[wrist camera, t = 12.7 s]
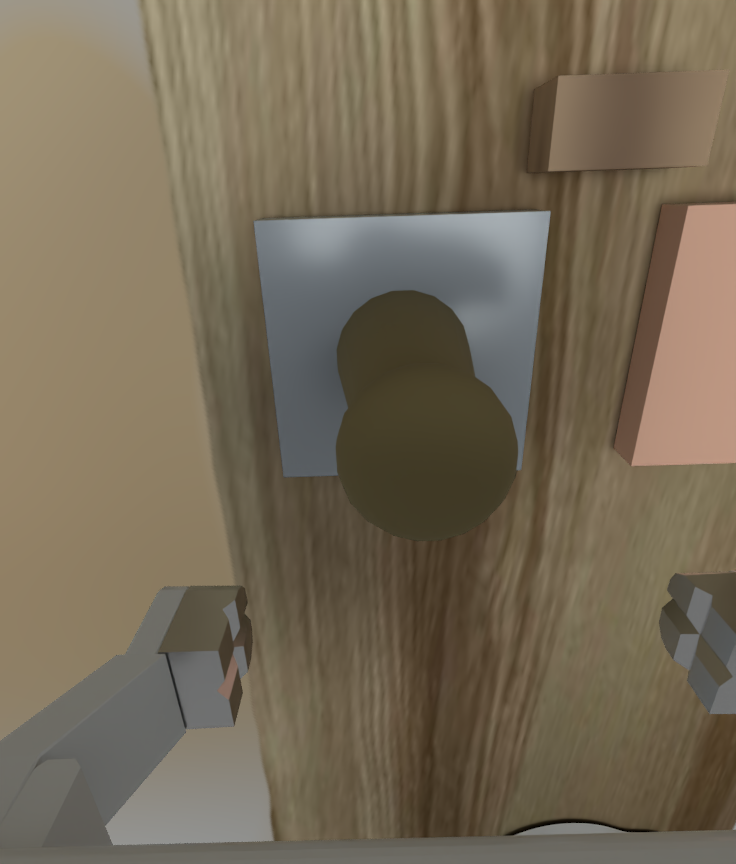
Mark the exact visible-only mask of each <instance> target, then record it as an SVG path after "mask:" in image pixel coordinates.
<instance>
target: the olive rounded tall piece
mask: <svg viewBox="0 0 736 864" xmlns="http://www.w3.org/2000/svg"><path fill="white" fill-rule="evenodd" d="M337 366H338V373H339V376H340V380H341V384H342V387H343V391H344V394H345V398H346V402H347V405H348V409H347V410H346V412H345V413H344V416H343V419H342V422H341V426H340V429H339V433H338V436H337V441H336V461H337V473H338V475H339V478H340V480H341V483H342V485H343V487H344V489H345V492H346V494H347V496H348V498H349V501H350V503H351V504H352V505H353V506H354V507H355V508H356V509H357V510H358V512H359V513H360V514H361V515H362V516H363V517H364V518H365V519H366V520H367V521H368V522H370V523H372V524H374V525H376V526H377V527H379V528H381V529H383V530H385V531H386V532H388V533H390V534H392V535H394V536H397V537H402V538H406V539H410V540H414V541H437V540H444V539H447V538H451V537H454V536H458V535H461V534H464V533H466V532H468V531H469V530H471V529H473V528H474V527H476V526H478V525H479V524H481V523H483V522H484V521H485V520H486V519H487V518H488V517H489V516H490V515H491V514H492V513H493V512H494V511H495V510H496V509H497V508H498V506H499V505H500V504H501V503H502V502H503V500H504V499H505V497H506V495H507V493H508V491H509V489H510V487H511V485H512V483H513V481H514V479H515V476H516V469H517V460H518V441H517V437H516V433H515V429H514V425H513V421H512V417H511V416H510V414H509V413H508V411H507V410H506V408H505V407H504V406H503V404H502V403H501V401H500V400H499V399H498V397H497V396H496V394H495V393H494V392H493V390H492V389H491V387H489V386H488V385H486V384H485V383H483V382H482V381H480V380H479V379H477V378H476V377H475V372H474V367H473V362H472V357H471V352H470V347H469V343H468V339H467V336H466V332H465V329H464V326H463V324H462V323H461V321H460V320H459V318H458V317H457V315H456V314H455V313H454V311H453V310H452V309H451V308H450V307H449V306H447V305H446V304H444V303H443V302H442V301H440V300H439V299H438V298H436V297H435V296H432V295H428V294H425V293H422V292H418V291H415V290H403V291H390V292H387V293H385V294H382V295H379V296H376V297H374V298H371V299H370V300H368V301H367V302H366V303H365V304H363V305H362V306H361V307H359V308H358V309H357V310H356V311H354V312H353V314H352V315H351V317H350V318H349V320H348V321H347V323H346V324H345V326H344V327H343V329H342V331H341V335H340V339H339V342H338V346H337Z"/></svg>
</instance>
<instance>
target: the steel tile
mask: <svg viewBox="0 0 736 864" xmlns="http://www.w3.org/2000/svg"><path fill="white" fill-rule="evenodd" d="M550 212H551V211H545V210H537V209H531V210H501V211H470V212H440V213H410V214H379V215H349V216H319V217H288V218H262V219H258V220H255V221H254V229H255V237H256V246H257V254H258V263H259V271H260V280H261V289H262V297H263V306H264V314H265V323H266V331H267V340H268V348H269V357H270V365H271V374H272V383H273V391H274V400H275V408H276V417H277V425H278V434H279V442H280V451H281V459H282V468H283V476H284V477H309V476H339V475H338V473H337V461H336V441H337V436H338V433H339V429H340V426H341V422H342V419H343V416H344V413H345V412H346V410H347V409H348V405H347V402H346V398H345V394H344V391H343V387H342V384H341V380H340V376H339V373H338V366H337V346H338V342H339V339H340V335H341V331H342V329H343V327H344V326H345V324H346V323H347V321H348V320H349V318H350V317H351V315H352V314H353V312H354V311H356V310H357V309H358V308H359V307H361V306H362V305H363V304H365V303H366V302H367V301H368V300H370V299H371V298H374V297H376V296H379V295H382V294H385V293H387V292H390V291H403V290H415V291H418V292H422V293H425V294H428V295H432V296H435V297H436V298H438V299H439V300H440V301H442V302H443V303H444V304H446V305H447V306H449V307H450V308H451V309H452V310H453V311H454V313H455V314H456V315H457V317H458V318H459V320H460V321H461V323H462V324H463V326H464V329H465V332H466V336H467V339H468V343H469V347H470V352H471V357H472V362H473V367H474V372H475V377H476V378H477V379H479V380H480V381H482V382H483V383H485V384H486V385H488V386H489V387H491V389H492V390H493V392H494V393H495V394H496V396H497V397H498V399H499V400H500V401H501V403H502V404H503V406H504V407H505V408H506V410H507V411H508V413H509V414H510V416H511V417H512V421H513V425H514V429H515V433H516V437H517V441H518V460H517V469H516V470H521V467H522V458H523V449H524V440H525V432H526V423H527V414H528V405H529V397H530V388H531V379H532V370H533V361H534V353H535V344H536V335H537V326H538V318H539V309H540V300H541V291H542V282H543V274H544V265H545V256H546V247H547V239H548V230H549V221H550Z"/></svg>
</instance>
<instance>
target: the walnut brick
mask: <svg viewBox="0 0 736 864" xmlns="http://www.w3.org/2000/svg"><path fill="white" fill-rule="evenodd" d="M728 74H729V70H706V71H678V72H650V73H622V74H594V75H566V76H557V77H555V78H554V79H552V80H550V81H548V82H547V83H545V84H543V85H541V86H540V87H538V88H536V89H534V100H533V111H532V121H531V132H530V143H529V154H528V165H527V173H542V172H571V171H600V170H629V169H658V168H679V167H695V166H708V161H709V157H710V153H711V148H712V144H713V140H714V135H715V131H716V126H717V122H718V118H719V113H720V109H721V105H722V100H723V96H724V91H725V87H726V83H727V78H728Z"/></svg>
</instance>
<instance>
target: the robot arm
mask: <svg viewBox="0 0 736 864" xmlns="http://www.w3.org/2000/svg"><path fill="white" fill-rule="evenodd" d="M667 591H668V592H669V594H670V595H671V597H672V598H673V599H672V600H671V601H670V602H668V603H667V604H666V605H665V606H664V607H663V608H662V611H661V616H660V620H659V625H660V632H661V638H662V640H663V643H664V645H665V648H666V649H667V651H668V653H669V654H670V656H671V657H672V659H673V660H674V661H676V662H677V663H679V664H680V665H682V666H683V667H685V668H686V669H688V670H689V671H688V678H687V681H688V683H689V684H690V686H691V687H692V689H693V690H694V692H695V693H696V695H697V696H698V697H699V699H700V700H701V702H702V703H703V705H704V706H705V708H706V709H707V711H708V712H709V714H736V571H729V572H698V573H675V575H674V576H673V577H672V578H671V579H670V582H669V585H668V589H667ZM246 606H247V597H246V592H245V588H244V587H243V586H190V587H164V588H162V589H161V590H160V591H159V592H158V593H157V595H156V597H155V599H154V601H153V603H152V605H151V607H150V608H149V610H148V612H147V614H146V616H145V618H144V620H143V622H142V624H141V626H140V627H139V629H138V631H137V633H136V635H135V637H134V639H133V641H132V643H131V644H130V646H129V648H128V650H127V652H126V654H125V655H116V656H115V657H114V658H112V659H111V660H109V661H108V662H107V663H105V664H104V665H103V666H101V667H100V668H99V669H97V670H96V671H94V672H93V673H92V674H90V675H89V676H88V677H86V678H85V679H84V680H83V681H81V682H80V683H78V684H77V685H76V686H74V687H73V688H71V689H70V690H69V691H68V692H66V693H65V694H63V695H62V696H60V697H59V698H58V699H56V700H55V701H54V702H52V703H51V704H50V705H48V706H47V707H46V708H44V709H43V710H41V711H40V712H39V713H37V714H36V715H35V716H33V717H32V718H31V719H29V720H28V721H27V722H25V723H24V724H23V725H21V726H20V727H18V728H17V729H16V730H14V731H13V732H12V733H10V734H9V735H8V736H6V737H5V738H4V739H2V740H1V741H0V864H736V830H712V831H672V832H625V831H620V830H617V829H614V828H610V827H606V826H602V825H596V824H588V823H564V824H554V825H548V826H543V827H538V828H534V829H531V830H527V831H524V832H521V833H519V834H516V835H514V836H473V837H431V838H389V839H347V840H305V841H265V842H227V843H226V842H225V843H184V844H150V845H149V844H147V845H113V844H112V842H111V839H110V837H109V835H108V832H107V830H106V827H105V825H106V824H107V823H108V822H109V821H110V820H111V818H112V817H113V816H114V815H115V814H116V812H118V810H119V809H120V808H121V807H122V806H123V805H124V803H125V802H126V801H127V800H128V799H129V797H131V795H132V794H133V793H134V792H135V791H136V790H137V788H138V787H139V786H140V785H141V784H142V782H143V781H144V780H145V779H146V778H147V777H148V775H149V774H150V773H151V772H152V771H153V770H154V769H155V768H156V766H157V765H158V764H159V763H160V762H161V760H162V759H163V758H164V757H165V756H166V755H167V754H168V752H169V751H170V750H171V749H172V748H173V747H174V746H175V744H176V743H177V742H178V741H179V740H180V738H181V737H182V736H183V735H184V734H185V733H186V730H185V729H196V728H215V727H232V726H234V725H235V721H236V717H237V713H238V709H239V705H240V701H241V697H242V693H243V692H242V686H241V680H240V679H241V678H242V677H243V676H244V675H245V674H246V673H247V672H248V669H249V665H250V660H251V653H252V643H253V640H252V626H251V620H250V619H249V618H248V617H247V616H246V615H245V614H244V613H245V609H246Z"/></svg>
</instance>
